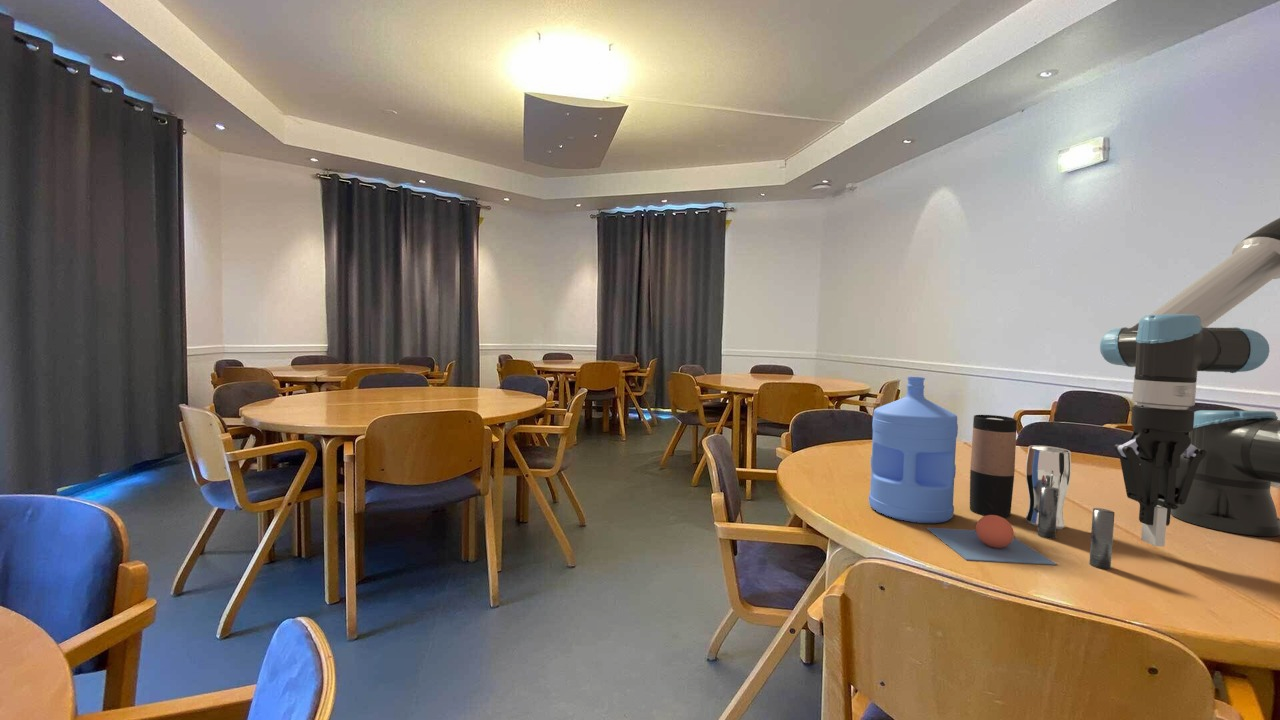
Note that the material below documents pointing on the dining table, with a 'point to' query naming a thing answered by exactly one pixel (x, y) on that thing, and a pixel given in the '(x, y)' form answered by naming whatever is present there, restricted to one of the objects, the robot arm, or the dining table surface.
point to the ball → (994, 531)
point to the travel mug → (992, 465)
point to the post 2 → (1101, 538)
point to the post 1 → (1047, 512)
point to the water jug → (913, 458)
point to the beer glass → (1047, 478)
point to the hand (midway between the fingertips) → (1152, 543)
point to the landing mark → (988, 548)
